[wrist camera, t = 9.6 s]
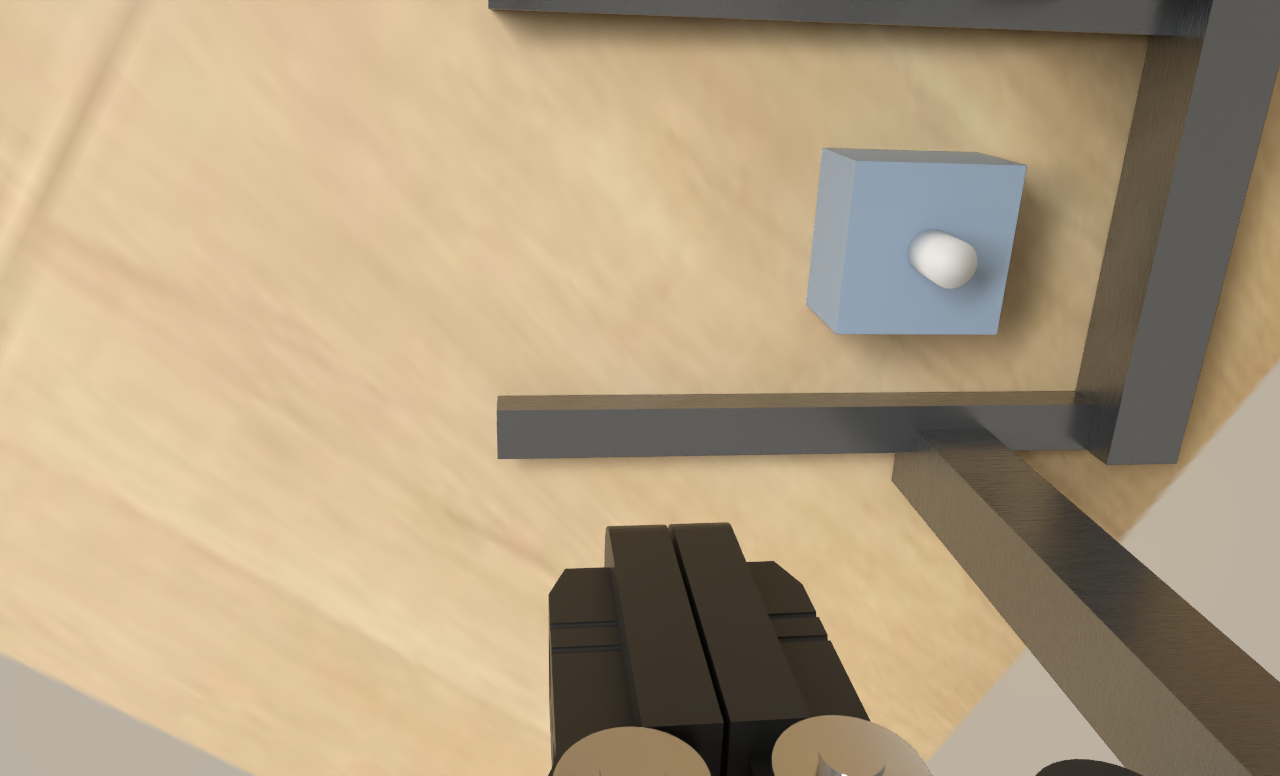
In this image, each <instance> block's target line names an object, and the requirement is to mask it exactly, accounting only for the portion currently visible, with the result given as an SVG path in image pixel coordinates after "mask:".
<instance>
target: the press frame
mask: <svg viewBox="0 0 1280 776" xmlns="http://www.w3.org/2000/svg"><path fill="white" fill-rule="evenodd" d="M488 2H489V9H490V10H514V11H540V12H565V13H591V14H617V15H642V16H668V17H693V18H719V19H744V20H770V21H796V22H821V23H847V24H872V25H898V26H923V27H949V28H975V29H1000V30H1026V31H1051V32H1077V33H1102V34H1128V35H1150V40H1149V45H1148V49H1147V54H1146V59H1145V64H1144V68H1143V73H1142V78H1141V83H1140V87H1139V92H1138V97H1137V102H1136V106H1135V111H1134V116H1133V121H1132V125H1131V130H1130V135H1129V140H1128V145H1127V149H1126V154H1125V159H1124V164H1123V168H1122V173H1121V178H1120V183H1119V187H1118V192H1117V197H1116V202H1115V206H1114V211H1113V216H1112V221H1111V225H1110V230H1109V235H1108V240H1107V244H1106V249H1105V254H1104V259H1103V263H1102V268H1101V273H1100V278H1099V282H1098V287H1097V292H1096V297H1095V302H1094V306H1093V311H1092V316H1091V321H1090V325H1089V330H1088V335H1087V340H1086V344H1085V349H1084V354H1083V359H1082V363H1081V368H1080V373H1079V378H1078V382H1077V387H1076V391H1035V392H918V393H802V394H685V395H568V396H498V401H497V444H498V459H528V458H590V457H651V456H712V455H773V454H834V453H896V454H895V461H894V468H893V475H892V481H893V483H894V484H895V485H896V486H897V488H898V489H899V490H900V491H901V493H902V494H903V495H904V496H905V497H906V499H907V500H908V501H909V502H910V504H911V505H912V506H913V507H914V508H915V510H916V511H917V512H918V513H919V515H920V516H921V517H922V518H923V520H924V521H925V522H926V523H927V524H928V526H929V527H930V528H931V529H932V531H933V532H934V533H935V534H936V536H937V537H938V538H939V539H940V540H941V542H942V543H943V544H944V545H945V547H946V548H947V549H948V550H949V552H950V553H951V554H952V555H953V556H954V558H955V559H956V560H957V561H958V563H959V564H960V565H961V566H962V568H963V569H964V570H965V571H966V572H967V574H968V575H969V576H970V577H971V579H972V580H973V581H974V582H975V583H976V585H977V586H978V587H979V588H980V590H981V591H982V592H983V593H984V595H985V596H986V597H987V598H988V599H989V601H990V602H991V603H992V604H993V606H994V607H995V608H996V609H997V611H998V612H999V613H1000V614H1001V615H1002V617H1003V618H1004V619H1005V620H1006V622H1007V623H1008V624H1009V625H1010V627H1011V628H1012V629H1013V630H1014V631H1015V633H1016V634H1017V635H1018V636H1019V638H1020V639H1021V640H1022V641H1023V643H1024V644H1025V645H1026V646H1027V647H1028V649H1029V650H1030V651H1031V652H1032V654H1033V655H1034V656H1035V657H1036V658H1037V660H1038V661H1039V662H1040V663H1041V665H1042V666H1043V667H1044V668H1045V670H1046V671H1047V672H1048V673H1049V674H1050V676H1051V677H1052V678H1053V679H1054V681H1055V682H1056V683H1057V684H1058V686H1059V687H1060V688H1061V689H1062V690H1063V692H1064V693H1065V694H1066V695H1067V697H1068V698H1069V699H1070V700H1071V702H1072V703H1073V704H1074V705H1075V706H1076V708H1077V709H1078V710H1079V711H1080V712H1081V714H1082V715H1083V716H1084V717H1085V719H1086V720H1087V721H1088V722H1089V724H1090V725H1091V726H1092V727H1093V729H1094V730H1095V731H1096V732H1097V733H1098V735H1099V736H1100V737H1101V738H1102V740H1103V741H1104V742H1105V743H1106V745H1107V746H1108V747H1109V748H1110V749H1111V751H1112V752H1113V753H1114V754H1115V755H1116V757H1117V758H1118V759H1119V761H1121V763H1122V764H1123V765H1124V767H1125V768H1126V769H1129V770H1132V771H1134V772H1136V773H1138V774H1141V775H1143V776H1280V682H1279V681H1278V680H1277V679H1275V678H1274V677H1273V676H1272V675H1271V674H1270V673H1268V672H1267V671H1266V670H1265V669H1264V668H1263V667H1262V666H1260V665H1259V664H1258V663H1257V662H1256V661H1255V660H1253V659H1252V658H1251V657H1250V656H1249V655H1248V654H1246V653H1245V652H1244V651H1243V650H1242V649H1241V648H1240V647H1238V646H1237V645H1236V644H1235V643H1234V642H1233V641H1231V640H1230V639H1229V638H1228V637H1227V636H1226V635H1224V634H1223V633H1222V632H1221V631H1220V630H1218V628H1216V627H1215V626H1214V625H1213V624H1212V623H1211V622H1209V621H1208V620H1207V619H1206V618H1205V617H1204V616H1203V615H1201V614H1200V613H1199V612H1198V611H1197V610H1196V609H1194V608H1193V607H1192V606H1190V604H1189V603H1188V602H1186V601H1185V600H1184V599H1183V598H1182V597H1181V596H1179V595H1178V594H1177V593H1176V592H1175V591H1174V590H1172V589H1171V588H1170V587H1169V586H1168V585H1167V584H1166V583H1164V582H1163V581H1162V580H1161V579H1160V578H1159V577H1157V576H1156V575H1155V574H1154V573H1153V572H1152V571H1150V570H1149V569H1148V568H1147V567H1146V566H1144V564H1142V563H1141V562H1140V561H1139V560H1138V559H1137V558H1135V557H1134V556H1133V555H1132V554H1131V553H1130V552H1128V551H1127V550H1126V549H1125V548H1124V547H1123V546H1122V545H1120V544H1119V543H1118V542H1117V541H1116V540H1115V539H1113V538H1112V537H1111V536H1110V535H1109V534H1108V533H1107V532H1105V531H1104V530H1103V529H1102V528H1101V527H1100V526H1098V525H1097V524H1096V523H1095V522H1094V521H1093V520H1092V519H1090V518H1089V517H1088V516H1087V515H1086V514H1085V513H1083V512H1082V511H1081V510H1080V509H1079V508H1078V507H1076V506H1075V505H1074V504H1073V503H1072V502H1071V501H1070V500H1068V499H1067V498H1066V497H1065V496H1064V495H1063V494H1061V493H1060V492H1059V491H1058V490H1057V489H1056V488H1054V487H1053V486H1052V485H1051V484H1050V483H1049V482H1048V481H1046V480H1045V479H1044V478H1043V477H1042V476H1041V475H1039V474H1038V473H1037V472H1036V471H1035V470H1034V469H1033V468H1031V467H1030V466H1029V465H1028V464H1027V463H1026V462H1024V461H1023V460H1022V459H1021V458H1020V457H1019V456H1017V455H1016V454H1015V453H1014V452H1013V451H1018V450H1079V449H1086V450H1087V451H1089V452H1090V453H1091V454H1093V455H1094V456H1095V457H1097V458H1098V459H1099V460H1101V461H1102V462H1103V463H1105V464H1106V465H1132V464H1177V460H1178V456H1179V452H1180V448H1181V444H1182V440H1183V437H1184V433H1185V429H1186V425H1187V421H1188V417H1189V413H1190V409H1191V406H1192V402H1193V398H1194V394H1195V390H1196V386H1197V382H1198V378H1199V374H1200V371H1201V367H1202V363H1203V359H1204V355H1205V351H1206V347H1207V343H1208V340H1209V336H1210V332H1211V328H1212V324H1213V320H1214V316H1215V312H1216V309H1217V305H1218V301H1219V297H1220V293H1221V289H1222V285H1223V281H1224V277H1225V274H1226V270H1227V266H1228V262H1229V258H1230V254H1231V250H1232V246H1233V243H1234V239H1235V235H1236V231H1237V227H1238V223H1239V219H1240V215H1241V212H1242V208H1243V204H1244V200H1245V196H1246V192H1247V188H1248V184H1249V181H1250V177H1251V173H1252V169H1253V165H1254V161H1255V157H1256V153H1257V149H1258V146H1259V142H1260V138H1261V134H1262V130H1263V126H1264V122H1265V118H1266V115H1267V111H1268V107H1269V103H1270V99H1271V95H1272V91H1273V87H1274V84H1275V80H1276V76H1277V72H1278V68H1279V64H1280V0H488Z"/></svg>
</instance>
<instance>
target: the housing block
mask: <svg viewBox="0 0 1280 776" xmlns="http://www.w3.org/2000/svg"><path fill="white" fill-rule="evenodd" d="M1026 168H1027V166H1026V165H1023V164H1019V163H1015V162H1011V161H1008V160H1004V159H1000V158H996V157H993V156H989V155H985V154H981V153H978V152H948V151H913V150H878V149H843V148H823V149H822V158H821V168H820V178H819V187H818V197H817V206H816V216H815V225H814V235H813V244H812V254H811V263H810V273H809V283H808V292H807V302H806V305H807V306H808V307H809V308H810V309H811V310H812V311H813V312H814V313H815V314H816V315H817V316H818V317H819V318H820V319H821V320H822V321H823V322H824V323H825V324H826V325H827V326H828V327H829V328H830V329H831V330H832V331H833V332H834V333H835V334H949V335H997V330H998V325H999V319H1000V313H1001V308H1002V302H1003V297H1004V291H1005V286H1006V280H1007V274H1008V269H1009V263H1010V258H1011V252H1012V246H1013V241H1014V235H1015V230H1016V224H1017V218H1018V213H1019V207H1020V202H1021V196H1022V191H1023V185H1024V179H1025V174H1026Z"/></svg>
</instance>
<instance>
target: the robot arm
mask: <svg viewBox="0 0 1280 776" xmlns="http://www.w3.org/2000/svg"><path fill="white" fill-rule="evenodd" d="M549 706H550V731H551V757H552V769H551V771H550V773H549V775H548V776H933V775H932V773H931V772H930V770H929V769H928V767H927V766H926V764H925V762H924V761H923V759H922V758H921V757H920V755H919V754H918V753H917V752H916V750H915V749H914V748H913V747H912V746H911V745H910V744H908V743H907V742H906V741H905V740H904V739H902V738H901V737H900V736H898V735H897V734H895V733H893V732H892V731H890V730H888V729H886V728H885V727H882V726H880V725H878V724H875V723H873V722H871V721H870V719H869V717H868V715H867V713H866V711H865V709H864V707H863V705H862V703H861V701H860V699H859V697H858V695H857V693H856V691H855V689H854V687H853V685H852V683H851V681H850V679H849V677H848V675H847V673H846V671H845V669H844V667H843V665H842V663H841V661H840V659H839V657H838V655H837V653H836V651H835V649H834V647H833V645H832V643H831V641H828V639H827V633H826V631H825V629H824V627H823V625H822V623H821V621H820V619H819V617H816V611H815V609H814V607H813V605H812V603H811V601H810V599H809V597H808V595H807V593H806V591H805V589H804V587H803V585H802V584H801V583H800V582H799V581H798V580H796V579H795V578H794V577H793V576H791V575H790V574H789V573H788V572H787V571H785V570H784V569H783V568H782V567H780V566H779V565H778V564H777V563H775V562H774V561H765V562H746V560H745V558H744V555H743V553H742V551H741V548H740V546H739V543H738V541H737V539H736V536H735V534H734V531H733V529H732V527H731V525H730V524H729V523H695V524H670V525H669V527H668V528H667V526H666V525H637V526H607V528H606V534H605V566H604V568H577V569H565V570H564V572H563V573H562V575H561V576H560V578H559V579H558V581H557V582H556V584H555V585H554V587H553V589H552V590H551V592H550V593H549ZM1036 776H1143V775H1141V774H1138V773H1136V772H1134V771H1132V770H1129V769H1126V768H1123V767H1121V766H1117V765H1114V764H1110V763H1106V762H1102V761H1095V760H1085V759H1073V760H1064V761H1060V762H1056V763H1053V764H1051V765H1049V766H1047V767H1045V768H1043V769H1042V770H1041V771H1040V772H1039V773H1038V774H1037V775H1036Z"/></svg>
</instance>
